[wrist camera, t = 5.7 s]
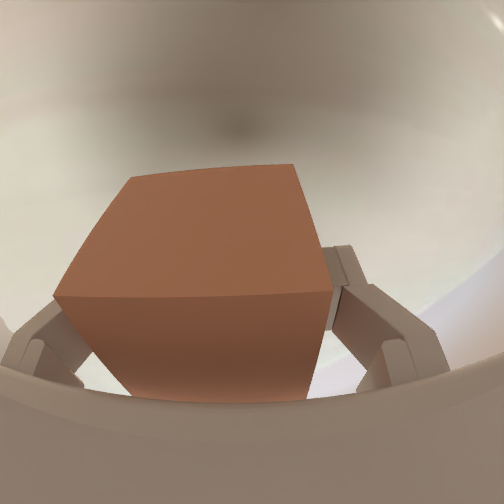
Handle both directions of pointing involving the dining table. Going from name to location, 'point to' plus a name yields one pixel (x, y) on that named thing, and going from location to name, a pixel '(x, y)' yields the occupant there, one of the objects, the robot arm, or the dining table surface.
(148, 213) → the terracotta cube
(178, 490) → the robot arm
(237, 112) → the dining table surface
